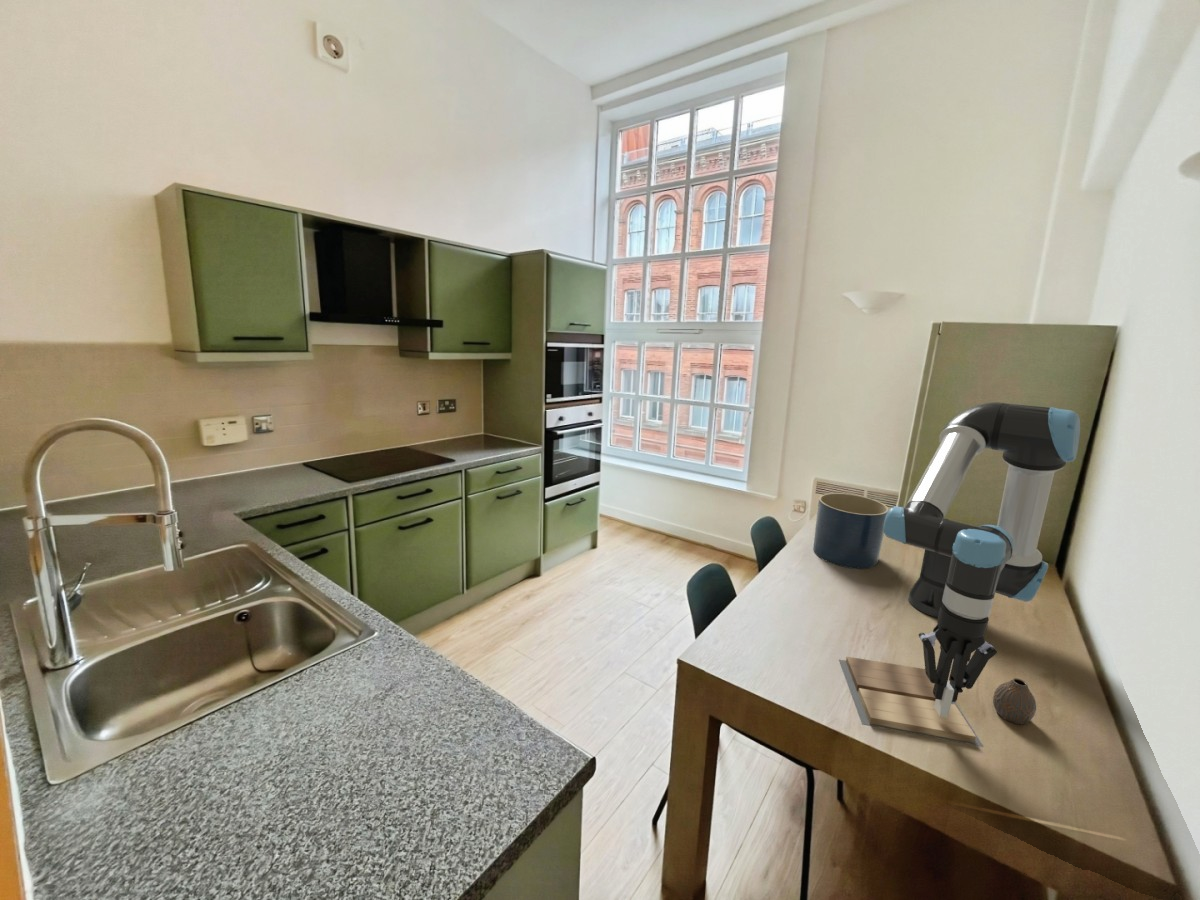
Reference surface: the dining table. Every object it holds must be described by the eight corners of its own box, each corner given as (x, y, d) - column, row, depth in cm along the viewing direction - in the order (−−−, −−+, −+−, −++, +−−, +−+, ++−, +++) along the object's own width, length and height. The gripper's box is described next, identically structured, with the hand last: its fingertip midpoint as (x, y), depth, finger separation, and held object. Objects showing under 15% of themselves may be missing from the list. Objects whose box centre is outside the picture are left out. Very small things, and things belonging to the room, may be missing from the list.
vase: (981, 705, 108) (990, 671, 106) (1010, 704, 108) (1020, 670, 106) (1009, 730, 101) (1019, 694, 99) (1040, 729, 102) (1051, 693, 100)
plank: (953, 710, 106) (955, 704, 105) (974, 743, 97) (976, 736, 97) (857, 693, 110) (858, 687, 109) (869, 723, 101) (870, 717, 101)
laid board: (932, 675, 116) (933, 670, 116) (951, 706, 107) (952, 700, 106) (845, 661, 120) (846, 656, 120) (856, 690, 111) (857, 684, 110)
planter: (805, 540, 191) (811, 491, 186) (865, 545, 188) (873, 495, 183) (821, 566, 170) (830, 512, 165) (889, 572, 167) (900, 517, 162)
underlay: (938, 677, 116) (938, 675, 116) (983, 748, 97) (983, 746, 96) (838, 660, 121) (838, 659, 121) (861, 725, 101) (862, 724, 101)
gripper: (993, 604, 96) (968, 704, 102) (919, 594, 99) (899, 693, 105) (1015, 625, 89) (986, 733, 95) (934, 615, 92) (912, 719, 98)
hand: (940, 712), depth 100 cm, fingers closed
